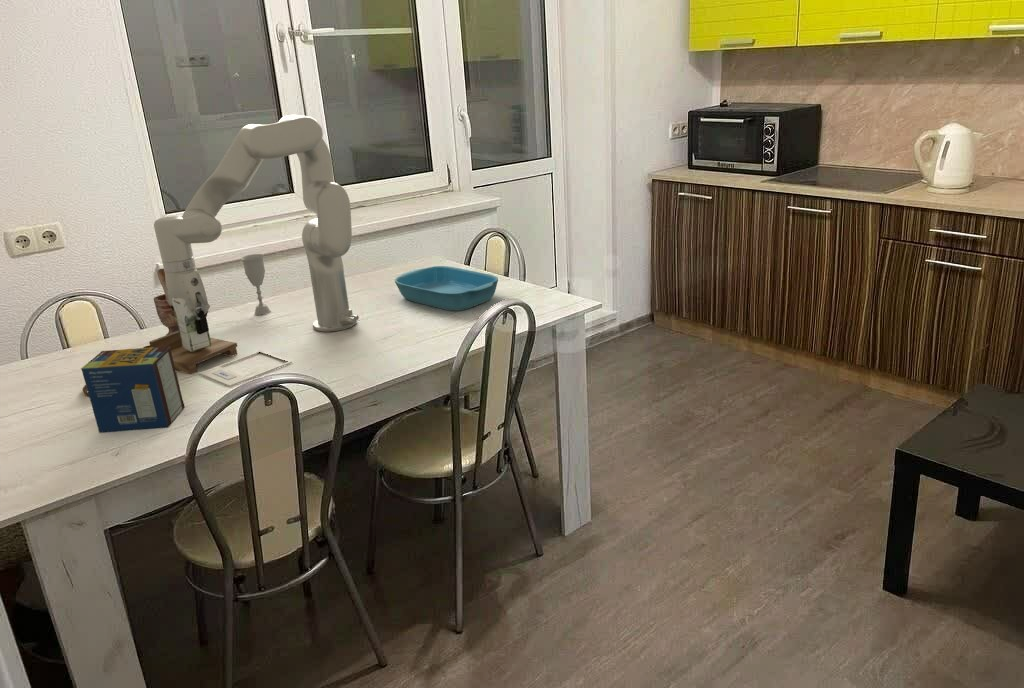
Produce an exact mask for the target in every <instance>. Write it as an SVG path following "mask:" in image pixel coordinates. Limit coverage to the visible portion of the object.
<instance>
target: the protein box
mask: <svg viewBox="0 0 1024 688" xmlns="http://www.w3.org/2000/svg"><path fill="white" fill-rule="evenodd" d="M80 370H81V373H82V376H83V379H84V383H85V385H86V387H87V390H88V391H87V392H88V394H89V396H88V397H89V400H90V404H91V407H92V412H93V415H94V418H95V422H96V426H97V429H98V433H100V434H101V433H102V434H103V433H115V432H130V431H131V432H132V431H143V430H144V431H145V430H154V429H155V430H156V429H168V428H170V426H171V425H172V424H173V422H174V421H175V420H176V419H177V418H178V416H179V415H180V414H181V412H182V411H183V410H184V408H185V403H184V400H183V395H182V391H181V386H180V384H179V383H180V382H179V379H178V374H177V371H176V370H175V366H174V362H173V357H172V353H171V349H170V346H161V347H149V348H143V347H140V348H125V349H113V350H112V349H111V350H102V351H100V352H99V353H98V354H96V355H95V357H93V358H92V359H91V360H89V361H88V362H87V363H85V365H84V366H82V367H80Z"/></svg>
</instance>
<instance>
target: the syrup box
mask: <svg viewBox="0 0 1024 688" xmlns="http://www.w3.org/2000/svg"><path fill="white" fill-rule="evenodd" d="M172 302H173V307H174V311H175V315H176V320H177V324H178V328H179V333H180V338H181V342H182V346H183V348H185V349H187V350H189V351H191V352H193V351H196V350H200V349H203V348H206V347H209V346H212V344H211V340H210V338H211V335H210V331H208V332H205V333H202V334H198V333H197V329H196V325H195V320H196V318H195V316H194V314H193V312H192V310H189V309H188V308H187V305H186V302H185V300H184V299H180V298H176V297H173V298H172ZM199 306H200V304H199V303H198V304H196V305H195V307H199ZM196 311H197V312H198V314H199V312H200V309H198V310H196Z"/></svg>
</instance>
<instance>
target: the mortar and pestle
mask: <svg viewBox="0 0 1024 688" xmlns="http://www.w3.org/2000/svg"><path fill="white" fill-rule="evenodd" d="M156 273H157V277H158V280H159V282H160V284H161V286H162V289H163V292H164V294H160V295H157V296H154V298H153V302H154V306H155V309H156V314H157V316H158V319H159V320H160V322H161V324H162V325H163V326H164V327H166V328H167V329H168V332H167V333H166V334H165V336H166V335H168V334H171V333H174V332H176V331H179V328H178V324H177V320H176V316H175V315H174V311H173V310H172V308H171V306H170V304H169V303H168V302H167V299H168V292H167V286H166V279H165V271H164V267H163V268H159V269H158V270H157V272H156Z"/></svg>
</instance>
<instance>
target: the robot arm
mask: <svg viewBox="0 0 1024 688" xmlns="http://www.w3.org/2000/svg"><path fill="white" fill-rule="evenodd" d="M323 134H324V133H323V128H322V126H321V124H320V123H319V122H318V120H316V119H315V118H313V117H311V116H307V115H298V114H290V115H285V116H283V117H281V118H280V119H279V121H278V122H275V123H270V124H269V123H268V124H258V123H257V124H255V123H250V124H247V125H245V126H243V127H242V128H241V129H240V130H239V132H238V133H237V135H236V136H235V138H234V139H233V141H232V142H231V144H230V146H229V148H228V149H227V151H226V153H225V154H224V155H223V157H222V159H221V161H220V162H219V164H218V165H217V167H216V169H215V170H214V171H213V173H211V174H210V176H209V177H208V178H207V179H206V180H205V182H203V184H201V186H200V187H199V188H198V190H197V191H196V193H194V195H193V197H192V199H191V200H190V202H189V203H188V205H187V206H186V208H185V209H184V210H183V211H184V212H183V213H182V216H179V215H175V216H174V215H173V216H164V217H160V218H157V219H156V220H155V221H154V223H153V227H154V228H153V229H154V232H155V236H156V240H157V241H156V242H157V247H158V250H159V253H160V258H161V262H162V267H163V268H164V271H165V279H166V286H167V292H168V299H167V302H168V303H169V304H170V306H171V308H172V310H173V311H174V307H173V302H172V298H173V297H176V298H180V299H184V300H185V302H186V305H187V308H188V309H189V310H192V312H193V314H194V316H195V318H196V320H195V325H196V329H197V333H198V334H202V333H205V332H208V331H209V330H210V329H209V323H208V320H207V319H208V318H207V317H208V313H209V310H210V307H211V306H210V303H209V302H208V298H207V297H208V296H207V292H206V289H205V285H204V283H203V279H202V277H201V274H200V273H199V270H198V269H197V267H196V262H195V258H194V252H193V248H192V244H206V243H212V242H214V241H216V240H217V239H218V238H219V237H220V236H221V234H222V232H223V231H222V230H223V226H222V223H221V222H220V220H219V218H218V217H216V216H217V215H218V214H219V212H220V211H221V209H222V208H223V207H224V206H225V204H226V203H227V202H228V201H230V199H232V198H233V197H235V196H237V195H239V194H241V193H242V192H243V191H245V190H246V189H247V187H248V186H249V185H250V183H251V181H252V179H253V178H254V177H255V175H256V173H257V171H258V169H259V168H260V166H261V165H262V163H263V161H264V160H266V161H267V160H275V159H279V158H285V157H288V156H292V155H296V156H297V157H298V160H299V164H300V171H301V185H302V186H301V187H302V199H303V204H304V206H305V208H306V209H307V210H308V211H310V212H311V213H313V214H316V218H312V219H310V220H309V221H307V222H306V223H305V225H304V226H303V228H302V230H301V231H302V233H301V240H302V245H303V248H304V252H305V255H306V259H307V262H308V263H307V264H308V268H309V274H310V281H311V287H312V294H313V301H314V306H315V312H316V313H315V314H316V318H317V319H316V320H314V321H313V323H312V329H314V330H315V331H318V332H324V333H325V332H326V333H327V332H330V333H331V332H337V331H344V330H346V329H349V328H352V327H353V326H355V325H356V324H357V321H358V320H359V318H360V317H359V315H356V314H354V313H353V310H352V308H350V306H349V305H350V304H349V298H348V292H347V291H348V290H347V285H346V284H347V283H346V277H345V268H344V263H343V258H342V257H343V256H344V255H346V254H347V253H348V252H349V250H350V248H351V245H352V241H353V240H352V239H353V233H352V232H353V231H352V214H351V213H352V212H351V200H350V198H349V195H348V192H347V191H346V189H345V188H344V187H343V186H342V185H341V184H338V183H337V182H335V179H334V170H333V162H332V155H331V153H330V149H329V147H328V145H327V143H326V141H325V140H324V139H323V138H324V137H323ZM198 303H199V304H200V306H199V307H195V305H196V304H198ZM198 309H200V312H199V314H198V312H197V311H196V310H198ZM174 315H175V311H174ZM175 316H176V315H175ZM209 332H210V331H209Z"/></svg>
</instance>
